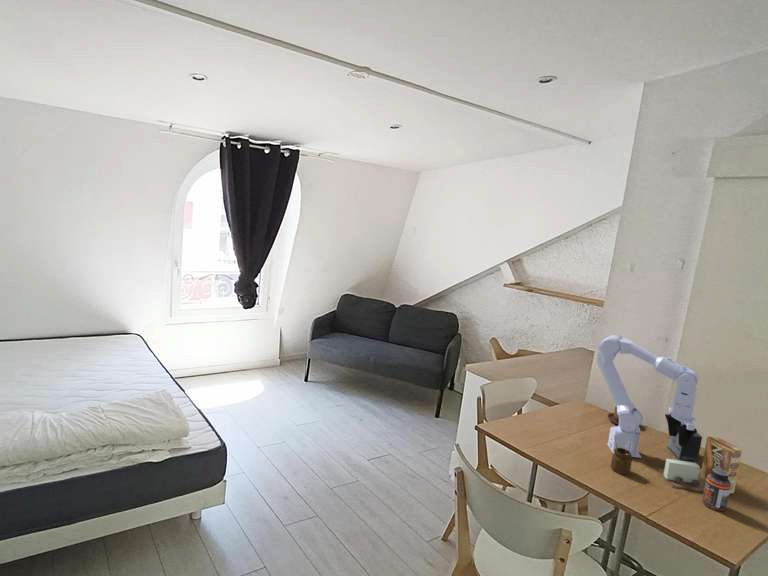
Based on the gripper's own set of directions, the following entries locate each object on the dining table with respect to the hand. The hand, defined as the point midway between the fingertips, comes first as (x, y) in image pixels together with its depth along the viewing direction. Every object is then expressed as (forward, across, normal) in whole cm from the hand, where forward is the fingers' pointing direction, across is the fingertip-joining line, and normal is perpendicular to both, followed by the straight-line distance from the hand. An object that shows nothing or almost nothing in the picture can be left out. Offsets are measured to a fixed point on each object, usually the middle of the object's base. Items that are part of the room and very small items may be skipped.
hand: (677, 440), depth 152 cm
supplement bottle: (+11, -21, -3) cm, 24 cm away
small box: (+10, +12, -8) cm, 17 cm away
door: (+9, -10, +2) cm, 14 cm away
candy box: (+11, -8, -10) cm, 16 cm away
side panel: (+10, -8, 0) cm, 13 cm away
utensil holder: (+10, -8, +20) cm, 24 cm away
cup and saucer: (+10, +35, +6) cm, 37 cm away
